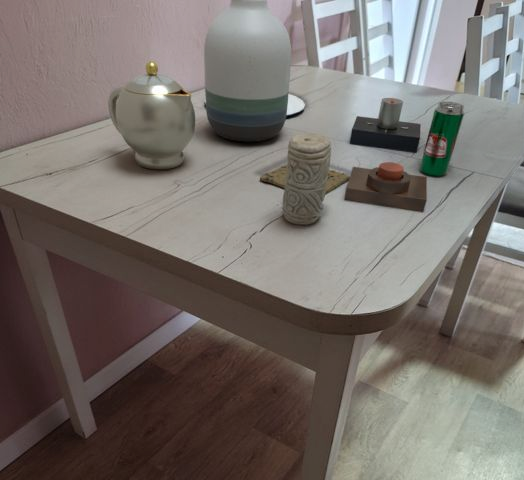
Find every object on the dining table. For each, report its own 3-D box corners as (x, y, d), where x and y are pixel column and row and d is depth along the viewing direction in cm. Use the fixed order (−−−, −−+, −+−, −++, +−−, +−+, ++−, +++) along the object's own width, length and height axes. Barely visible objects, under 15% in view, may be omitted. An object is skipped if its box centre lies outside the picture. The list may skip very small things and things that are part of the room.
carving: (278, 226, 73) (283, 144, 65) (285, 205, 79) (291, 127, 71) (319, 232, 73) (331, 149, 65) (324, 210, 78) (334, 132, 70)
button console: (423, 188, 87) (429, 166, 84) (423, 212, 79) (429, 188, 77) (350, 178, 89) (354, 156, 86) (344, 200, 81) (348, 177, 79)
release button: (401, 174, 82) (404, 164, 81) (400, 183, 79) (403, 172, 78) (377, 171, 82) (380, 160, 81) (376, 179, 79) (378, 169, 78)
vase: (230, 118, 113) (230, -11, 97) (297, 131, 108) (309, -2, 92) (191, 138, 101) (184, -4, 85) (264, 154, 96) (271, 6, 80)
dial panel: (417, 138, 108) (420, 122, 106) (416, 152, 101) (420, 136, 99) (354, 130, 111) (357, 115, 109) (349, 143, 103) (352, 128, 101)
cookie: (316, 200, 81) (316, 194, 80) (257, 180, 86) (258, 174, 85) (351, 179, 88) (352, 174, 87) (295, 162, 93) (296, 157, 93)
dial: (377, 122, 106) (382, 95, 102) (397, 124, 105) (403, 97, 102) (376, 128, 102) (381, 100, 99) (397, 130, 102) (403, 102, 98)
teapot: (214, 159, 93) (212, 61, 82) (171, 183, 83) (163, 76, 73) (138, 141, 98) (127, 47, 88) (90, 161, 89) (72, 59, 78)
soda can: (413, 171, 93) (431, 103, 85) (427, 165, 96) (445, 99, 88) (437, 180, 90) (457, 110, 82) (450, 173, 93) (471, 105, 85)
